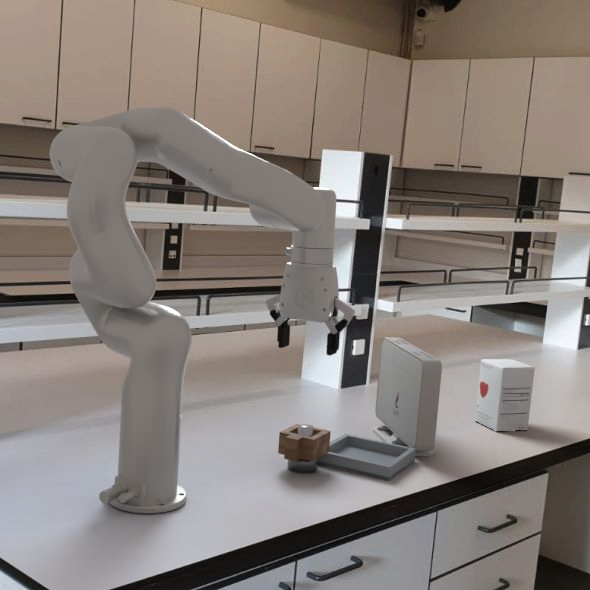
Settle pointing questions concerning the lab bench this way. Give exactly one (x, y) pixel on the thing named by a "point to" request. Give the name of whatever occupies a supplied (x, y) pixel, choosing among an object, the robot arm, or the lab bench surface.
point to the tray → (367, 456)
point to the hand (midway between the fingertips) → (307, 350)
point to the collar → (303, 444)
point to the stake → (302, 464)
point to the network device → (408, 395)
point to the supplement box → (504, 394)
